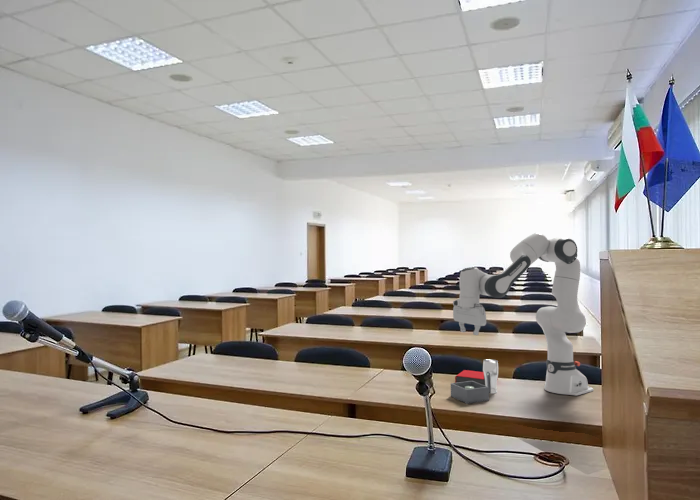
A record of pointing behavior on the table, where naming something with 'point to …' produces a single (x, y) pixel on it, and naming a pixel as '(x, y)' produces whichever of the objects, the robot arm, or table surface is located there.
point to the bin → (469, 392)
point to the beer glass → (490, 374)
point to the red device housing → (470, 377)
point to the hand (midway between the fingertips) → (469, 333)
